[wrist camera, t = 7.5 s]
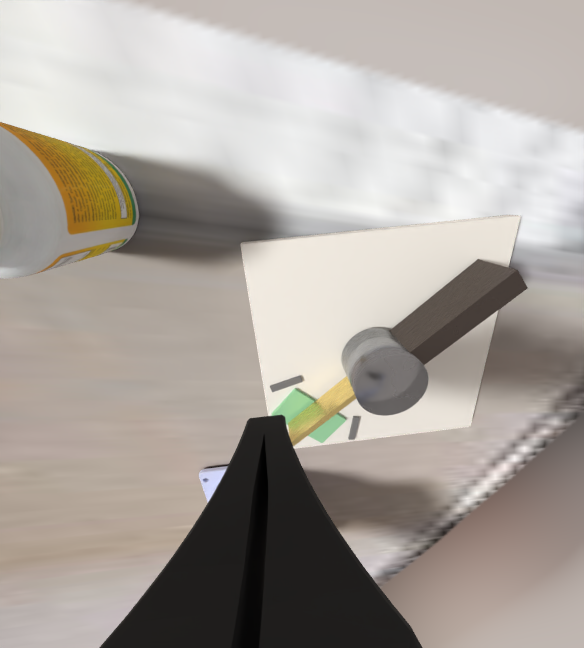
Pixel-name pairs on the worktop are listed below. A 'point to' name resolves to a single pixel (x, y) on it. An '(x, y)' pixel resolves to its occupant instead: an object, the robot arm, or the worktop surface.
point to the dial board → (366, 317)
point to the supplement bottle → (58, 203)
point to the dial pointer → (410, 347)
